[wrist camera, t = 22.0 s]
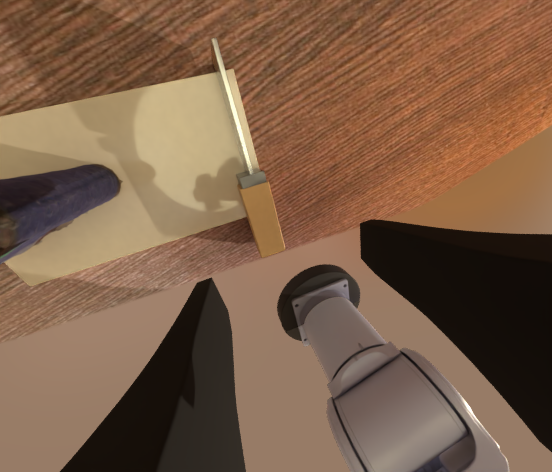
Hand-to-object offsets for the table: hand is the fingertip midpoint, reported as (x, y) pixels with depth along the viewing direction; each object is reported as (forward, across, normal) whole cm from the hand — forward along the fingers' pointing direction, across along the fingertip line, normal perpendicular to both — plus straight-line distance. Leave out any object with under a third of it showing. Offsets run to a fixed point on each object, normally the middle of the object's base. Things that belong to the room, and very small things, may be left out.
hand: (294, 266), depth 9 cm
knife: (+9, 0, -3) cm, 10 cm away
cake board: (+10, +8, -5) cm, 13 cm away
